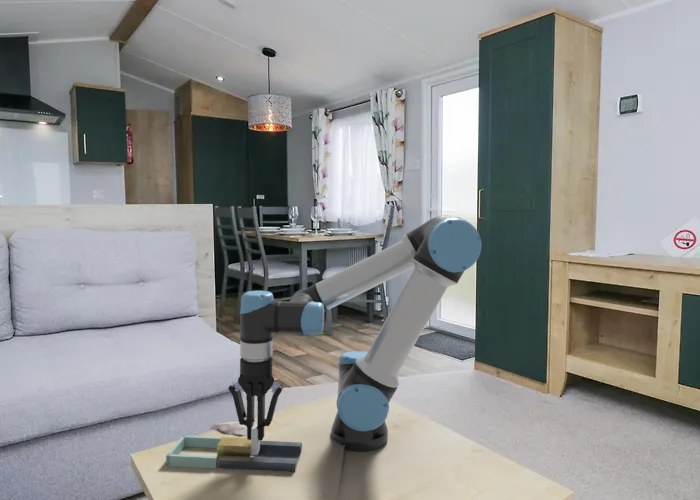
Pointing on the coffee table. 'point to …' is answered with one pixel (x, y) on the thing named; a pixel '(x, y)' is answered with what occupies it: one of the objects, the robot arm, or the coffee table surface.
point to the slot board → (266, 458)
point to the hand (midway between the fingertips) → (255, 451)
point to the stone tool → (231, 428)
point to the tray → (193, 460)
